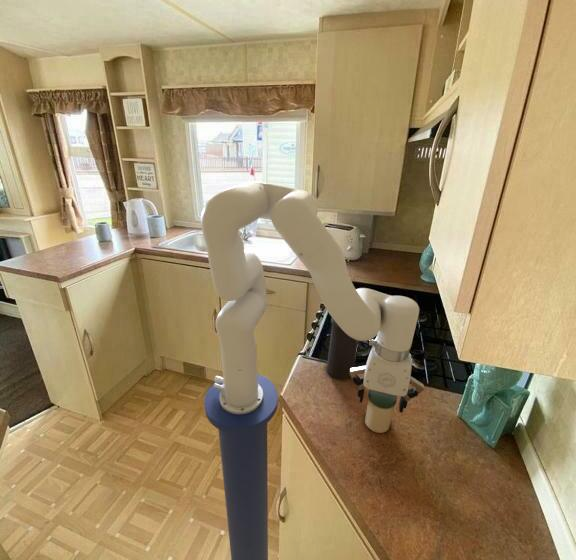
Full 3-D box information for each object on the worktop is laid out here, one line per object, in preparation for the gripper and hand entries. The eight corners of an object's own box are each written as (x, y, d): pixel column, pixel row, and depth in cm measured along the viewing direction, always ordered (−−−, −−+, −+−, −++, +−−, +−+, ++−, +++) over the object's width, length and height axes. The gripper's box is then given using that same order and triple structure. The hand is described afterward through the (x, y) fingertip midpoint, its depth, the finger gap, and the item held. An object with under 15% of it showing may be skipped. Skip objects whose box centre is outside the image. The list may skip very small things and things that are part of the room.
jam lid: (362, 393, 79) (363, 388, 78) (382, 384, 82) (383, 380, 81) (381, 412, 74) (382, 408, 73) (402, 402, 77) (403, 398, 76)
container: (359, 378, 96) (367, 323, 88) (331, 382, 94) (337, 326, 86) (347, 360, 104) (354, 307, 95) (322, 363, 102) (326, 310, 93)
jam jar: (363, 429, 80) (368, 402, 76) (365, 410, 85) (370, 384, 81) (389, 435, 78) (395, 408, 74) (389, 416, 83) (395, 390, 80)
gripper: (352, 350, 70) (344, 405, 78) (434, 367, 66) (418, 424, 73) (355, 332, 77) (348, 385, 84) (431, 346, 72) (416, 401, 80)
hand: (380, 403), depth 79 cm, fingers open, 9 cm apart
